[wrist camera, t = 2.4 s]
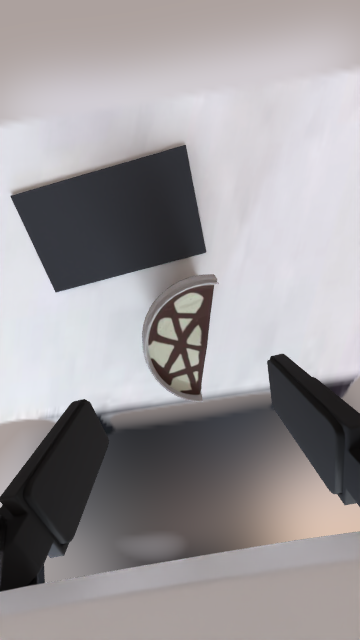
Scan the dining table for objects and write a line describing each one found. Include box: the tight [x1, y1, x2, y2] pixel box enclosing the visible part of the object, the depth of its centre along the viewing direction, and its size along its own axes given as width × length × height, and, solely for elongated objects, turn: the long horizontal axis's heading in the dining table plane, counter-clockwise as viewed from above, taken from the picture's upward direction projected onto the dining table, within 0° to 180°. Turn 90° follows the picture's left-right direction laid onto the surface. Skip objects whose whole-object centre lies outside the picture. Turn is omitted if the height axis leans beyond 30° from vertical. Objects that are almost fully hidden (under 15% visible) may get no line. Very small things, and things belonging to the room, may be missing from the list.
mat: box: [11, 145, 206, 292], centre depth 21 cm, size 20×11×1 cm, turn 104°
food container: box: [142, 275, 219, 402], centre depth 20 cm, size 12×6×10 cm, turn 176°
